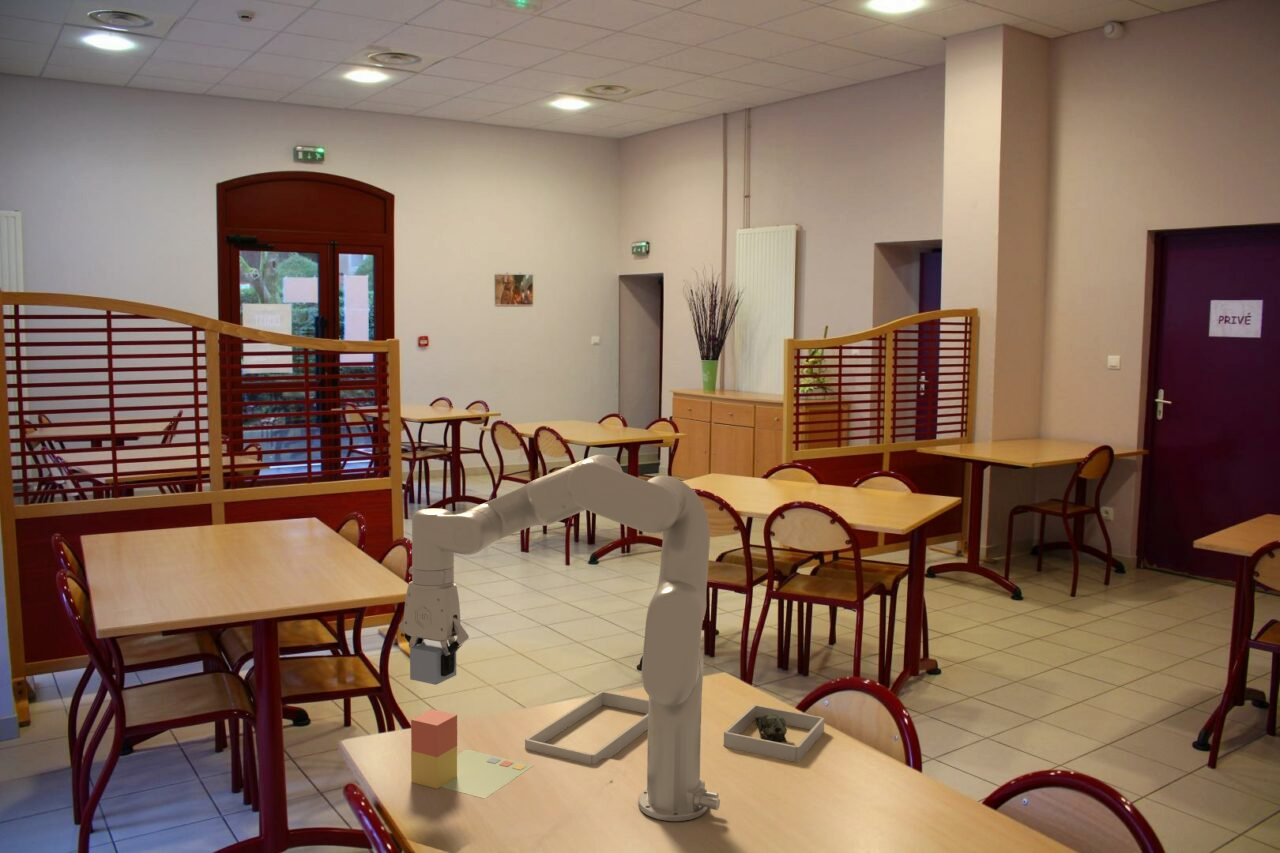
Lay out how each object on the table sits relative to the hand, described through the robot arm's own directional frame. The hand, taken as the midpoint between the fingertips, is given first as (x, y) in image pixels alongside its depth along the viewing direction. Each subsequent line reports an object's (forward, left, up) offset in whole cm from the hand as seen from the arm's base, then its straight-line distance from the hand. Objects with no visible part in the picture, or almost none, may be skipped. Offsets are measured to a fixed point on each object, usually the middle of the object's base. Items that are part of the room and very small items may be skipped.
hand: (433, 670), depth 186 cm
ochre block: (0, 0, -21) cm, 21 cm away
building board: (-5, -6, -22) cm, 24 cm away
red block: (0, 0, -15) cm, 15 cm away
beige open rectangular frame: (-15, -36, -22) cm, 45 cm away
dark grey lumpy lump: (-46, -54, -23) cm, 75 cm away
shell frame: (-49, -52, -22) cm, 75 cm away
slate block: (0, 0, -1) cm, 1 cm away
